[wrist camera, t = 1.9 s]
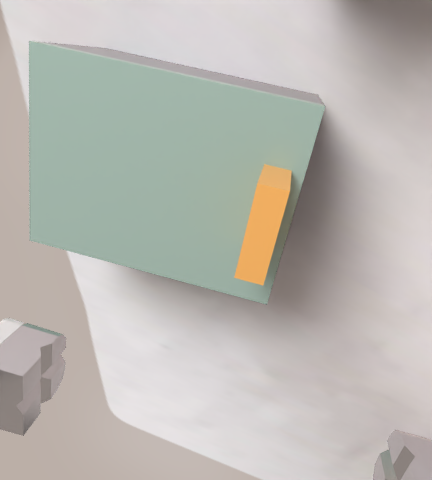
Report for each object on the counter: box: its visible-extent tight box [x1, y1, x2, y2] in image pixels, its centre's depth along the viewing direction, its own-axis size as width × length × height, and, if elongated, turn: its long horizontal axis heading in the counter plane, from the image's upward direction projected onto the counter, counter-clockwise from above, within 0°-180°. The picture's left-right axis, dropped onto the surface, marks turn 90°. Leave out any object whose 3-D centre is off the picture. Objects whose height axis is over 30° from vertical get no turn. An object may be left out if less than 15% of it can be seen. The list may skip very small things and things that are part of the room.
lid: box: [29, 41, 325, 305], centre depth 23 cm, size 16×12×6 cm
